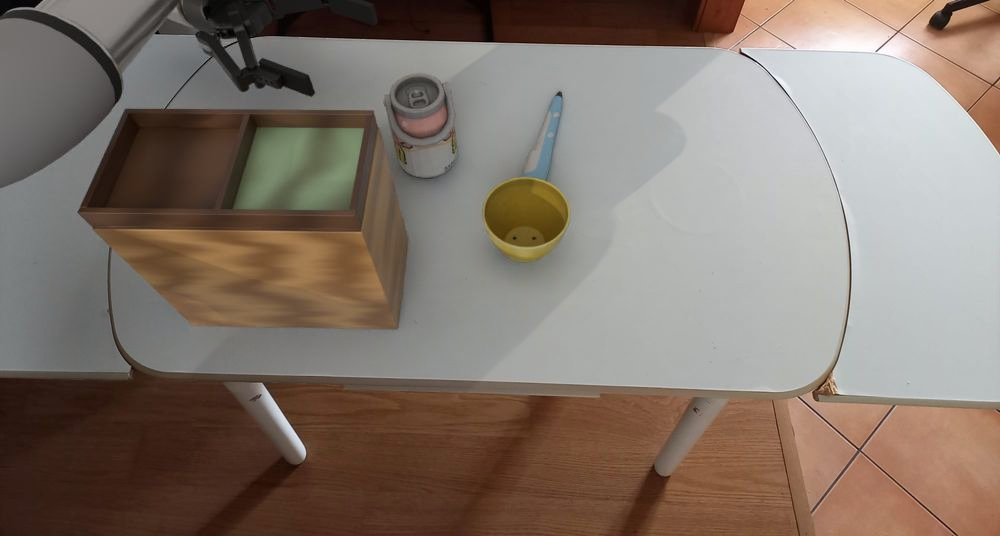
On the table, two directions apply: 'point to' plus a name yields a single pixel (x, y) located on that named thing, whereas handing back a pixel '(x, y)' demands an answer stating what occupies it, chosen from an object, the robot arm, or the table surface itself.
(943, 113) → the table surface
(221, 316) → the stand
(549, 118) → the pen
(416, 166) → the beverage can
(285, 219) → the tray
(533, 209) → the flower pot
